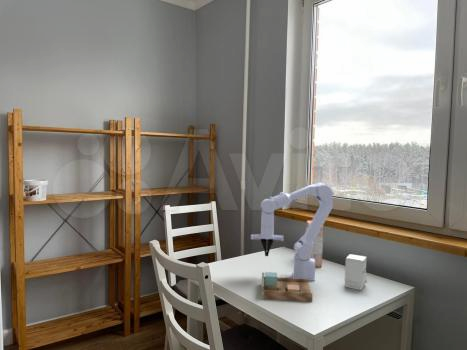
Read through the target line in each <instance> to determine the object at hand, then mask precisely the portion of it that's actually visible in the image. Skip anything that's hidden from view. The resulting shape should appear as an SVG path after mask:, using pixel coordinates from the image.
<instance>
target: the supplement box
mask: <svg viewBox="0 0 467 350" xmlns="http://www.w3.org/2000/svg"><path fill="white" fill-rule="evenodd" d="M344 269H345V270H344V285H343V287H345V288H348V289H349V288H350V289H353V290H358V291H362V290H363V288H364V287H365V286H366V279H365V278H366V277H367V275H366V273H367V256H365V255H358V254H351V253H350V254H348V255H347V256H346V258H345V268H344Z"/></svg>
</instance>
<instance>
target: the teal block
mask: <svg viewBox="0 0 467 350" xmlns="http://www.w3.org/2000/svg"><path fill="white" fill-rule="evenodd" d="M264 277H265V286H277V277H278V273H277V272H273V271H265V272H264Z"/></svg>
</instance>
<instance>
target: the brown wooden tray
mask: <svg viewBox="0 0 467 350" xmlns="http://www.w3.org/2000/svg"><path fill="white" fill-rule="evenodd" d="M287 285H299V289H300V292H287ZM260 289H261V290H260V291H261V292H260V299H263V300H277V301H280V300H281V301H293V302H294V301H295V302H296V301H297V302H307V303H308V302H311V303H312V302H313V294H314V293H313V292H312V291H311V287H310V283H309V280H308V279H297V278H293V277H278V276H277V286H265V272H261V285H260Z"/></svg>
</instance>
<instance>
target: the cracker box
mask: <svg viewBox="0 0 467 350" xmlns="http://www.w3.org/2000/svg"><path fill="white" fill-rule="evenodd" d="M311 221H312V220H306V230H307V228H308V227H309V225H310V223H311ZM306 230H305V231H306ZM323 243H324V225H323V226H322V228H321V229H320V231H319V233H318V235H317V237H316V238H315V240H314V245H313V249H312V254H311V257H310V258H312V259H315V268H322V265H323V248H324V247H323V246H324V244H323Z"/></svg>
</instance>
